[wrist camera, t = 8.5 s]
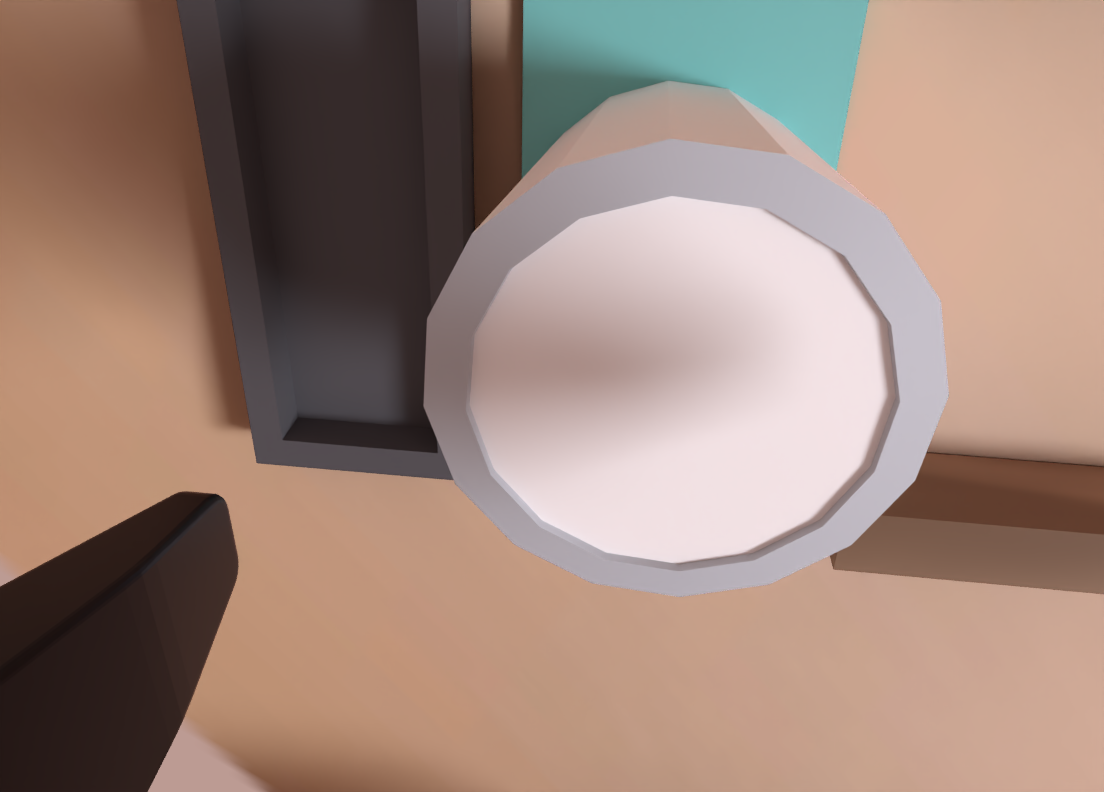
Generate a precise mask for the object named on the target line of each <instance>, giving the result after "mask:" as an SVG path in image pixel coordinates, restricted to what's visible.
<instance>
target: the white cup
mask: <svg viewBox="0 0 1104 792" xmlns="http://www.w3.org/2000/svg"><path fill="white" fill-rule="evenodd" d="M948 397H949V391H948V380H947V368H946V356H945V344H944V333H943V321H942V309H941V301H940V299H939V297H938V296H937V294H936V293H935V291H934V290H933V288H932V286H931V285H930V283H929V282H928V280H927V279H926V277H925V275H924V274H923V272H922V271H921V269H920V268H919V266H918V264H917V263H916V261H915V260H914V258H913V257H912V255H911V253H910V252H909V250H908V249H907V247H906V246H905V244H904V242H903V241H902V239H901V238H900V236H899V235H898V233H897V231H896V230H895V228H894V227H893V225H892V224H891V222H890V221H889V219H888V217H887V216H886V214H885V213H884V212H882V211H881V210H880V209H879V208H878V207H877V206H876V205H874V204H873V203H872V202H871V201H870V200H869V199H868V198H866V197H865V196H864V195H863V194H862V193H861V192H860V191H858V190H857V189H856V188H855V187H854V186H853V185H852V184H850V183H849V182H848V181H847V180H846V179H845V178H844V177H842V176H841V175H840V174H839V173H838V172H837V171H836V170H834V169H833V168H832V167H831V166H830V165H829V164H828V163H826V162H825V161H824V160H823V159H822V158H821V157H820V156H818V155H817V154H816V153H815V152H814V151H813V150H812V149H810V148H809V147H808V146H807V145H806V144H805V143H804V142H802V141H801V140H800V139H799V138H798V137H797V136H796V135H794V134H793V133H792V132H791V131H790V130H789V129H788V128H786V127H785V126H784V125H783V124H782V123H781V122H780V121H778V120H777V119H776V118H774V117H772V116H771V115H769V114H768V113H766V112H764V111H763V110H761V109H760V108H758V107H756V106H755V105H753V104H751V103H750V102H748V101H747V100H745V99H743V98H742V97H740V96H739V95H737V94H735V93H734V92H732V91H730V90H729V89H726V88H719V87H711V86H704V85H697V84H689V83H682V82H675V81H665V82H661V83H658V84H654V85H650V86H647V87H643V88H639V89H636V90H632V91H629V92H625V93H621V94H618V95H614V96H611V97H609V98H608V99H606V100H605V101H604V102H603V103H601V104H600V105H599V106H597V107H596V108H595V109H594V110H592V111H591V112H590V113H589V114H587V115H586V116H585V117H584V118H582V119H581V120H580V121H578V122H577V123H576V124H575V125H573V126H572V127H571V128H570V129H568V130H567V131H566V132H564V133H563V135H562V136H561V137H560V138H559V139H558V140H557V141H556V142H555V143H554V144H553V145H552V147H551V148H550V149H549V150H548V151H547V152H546V153H545V154H544V155H543V156H542V158H541V159H540V160H539V161H538V162H537V163H536V164H535V165H534V166H533V167H532V168H531V170H530V171H529V172H528V173H527V174H526V175H525V176H524V177H523V178H522V179H521V181H520V182H519V183H518V184H517V185H516V186H515V187H514V188H513V189H512V190H511V192H510V193H509V194H508V195H507V196H506V197H505V198H504V199H503V200H502V201H501V202H500V204H499V205H498V206H497V207H496V208H495V209H494V210H493V211H492V212H491V213H490V215H489V216H488V217H487V218H486V219H485V220H484V221H483V222H482V223H481V224H480V225H479V227H478V228H477V229H476V230H475V231H474V232H473V233H472V235H471V236H470V238H469V240H468V242H467V244H466V246H465V248H464V250H463V252H462V253H461V255H460V257H459V259H458V261H457V263H456V265H455V267H454V269H453V271H452V272H451V274H450V276H449V278H448V280H447V282H446V284H445V286H444V288H443V289H442V291H441V293H440V295H439V297H438V299H437V301H436V303H435V305H434V306H433V308H432V310H431V312H430V314H429V316H428V318H427V333H426V357H425V382H424V409H425V411H426V413H427V416H428V418H429V421H430V423H431V426H432V428H433V431H434V433H435V435H436V438H437V440H438V443H439V445H440V448H441V450H442V453H443V455H444V457H445V460H446V462H447V465H448V467H449V470H450V472H451V475H452V477H453V479H454V482H455V484H456V485H457V486H458V487H459V488H460V489H461V490H462V491H463V492H464V493H465V494H466V496H467V497H468V498H469V499H470V500H471V501H472V502H473V503H474V504H475V505H476V506H477V507H478V508H479V509H480V510H481V511H482V512H483V513H484V514H485V515H486V516H487V517H488V518H489V519H490V520H491V521H492V522H493V523H494V524H495V525H496V526H497V527H498V528H499V529H500V530H501V531H502V532H503V533H504V534H505V536H506V537H507V538H508V539H509V540H510V541H511V542H512V543H513V544H514V545H516V546H518V547H520V548H522V549H524V550H526V551H528V552H530V553H532V554H534V555H536V556H538V557H540V558H542V559H544V560H546V561H548V562H550V563H552V564H554V565H556V566H558V567H560V568H562V569H564V570H566V571H568V572H570V573H572V574H574V575H576V576H578V577H580V578H582V579H584V580H586V581H588V582H590V583H594V584H600V585H606V586H613V587H619V588H625V589H632V590H638V591H644V592H651V593H657V594H663V595H670V596H676V597H683V596H690V595H698V594H705V593H712V592H719V591H726V590H734V589H741V588H748V587H755V586H762V585H769V584H771V583H773V582H775V581H778V580H780V579H782V578H784V577H786V576H788V575H790V574H792V573H794V572H796V571H798V570H801V569H803V568H805V567H807V566H809V565H811V564H813V563H815V562H817V561H819V560H821V559H824V558H826V557H828V556H830V555H832V554H834V553H836V552H838V551H840V550H842V549H844V548H847V547H849V546H851V545H852V544H853V543H854V542H855V541H856V540H857V539H858V538H859V537H860V536H861V535H862V534H863V533H864V532H865V531H866V530H867V529H868V528H869V527H870V526H871V525H872V524H873V523H874V522H875V521H876V520H877V519H878V518H879V517H880V516H881V515H882V514H883V513H884V512H885V511H886V510H887V509H888V508H889V507H890V506H891V505H892V504H893V503H894V502H895V501H896V499H897V498H898V497H899V496H900V495H901V494H902V493H903V492H904V491H905V490H906V489H907V488H908V487H909V486H910V485H911V484H912V483H913V482H914V481H915V480H916V477H917V475H918V472H919V470H920V467H921V465H922V462H923V460H924V457H925V455H926V452H927V450H928V447H929V444H930V442H931V439H932V437H933V434H934V432H935V429H936V427H937V424H938V422H939V419H940V417H941V414H942V412H943V409H944V407H945V404H946V402H947V399H948Z"/></svg>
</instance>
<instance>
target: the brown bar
mask: <svg viewBox="0 0 1104 792" xmlns="http://www.w3.org/2000/svg"><path fill="white" fill-rule="evenodd" d="M830 558H831V562H832V566H833V569H834V570H845V571H856V572H867V573H878V574H889V575H900V576H911V577H922V578H933V579H944V580H954V581H965V582H976V583H987V584H998V585H1009V586H1020V587H1031V588H1042V589H1053V590H1064V591H1074V592H1085V593H1096V594H1104V467H1097V466H1084V465H1072V464H1059V463H1047V462H1035V461H1022V460H1010V459H997V458H985V457H973V456H960V455H948V454H935V453H926V455H925V457H924V460H923V462H922V465H921V467H920V470H919V472H918V475H917V477H916V480H915V481H914V482H913V483H912V484H911V485H910V486H909V487H908V488H907V489H906V490H905V491H904V492H903V493H902V494H901V495H900V496H899V497H898V498H897V499H896V501H895V502H894V503H893V504H892V505H891V506H890V507H889V508H888V509H887V510H886V511H885V512H884V513H883V514H882V515H881V516H880V517H879V518H878V519H877V520H876V521H875V522H874V523H873V524H872V525H871V526H870V527H869V528H868V529H867V530H866V531H865V532H864V533H863V534H862V535H861V536H860V537H859V538H858V539H857V540H856V541H855V542H854V543H853V544H852V545H851V546H849V547H847V548H844V549H842V550H840V551H838V552H836V553H834V554H832V555H830Z"/></svg>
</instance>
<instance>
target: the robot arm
mask: <svg viewBox="0 0 1104 792" xmlns="http://www.w3.org/2000/svg"><path fill="white" fill-rule="evenodd" d="M237 575H238V555H237V550H236V545H235V540H234V535H233V530H232V525H231V520H230V515H229V510H228V507H227V504H226V502H225V500H224V499H223V498H222V497H221V496H219V495H217V494H211V493H199V492H188V491H186V492H178V493H176V494H174V495H172V496H170V497H168V498H166V499H164V500H162V501H161V502H159V503H157V504H155V505H153V506H151V507H149V508H147V509H146V510H144V511H142V512H140V513H138V514H136V515H134V516H132V517H130V518H129V519H127V520H125V521H123V522H121V523H119V524H117V525H115V526H113V527H112V528H110V529H108V530H106V531H104V532H102V533H100V534H98V535H97V536H95V537H93V538H91V539H89V540H87V541H85V542H83V543H81V544H80V545H78V546H76V547H74V548H72V549H70V550H68V551H66V552H65V553H63V554H61V555H59V556H57V557H55V558H53V559H51V560H49V561H48V562H46V563H44V564H42V565H40V566H38V567H36V568H34V569H32V570H31V571H29V572H27V573H25V574H23V575H21V576H19V577H17V578H15V579H14V580H12V581H10V582H8V583H6V584H4V585H2V586H0V792H148V790H149V788H150V786H151V784H152V782H153V780H154V778H155V776H156V774H157V772H158V770H159V768H160V766H161V764H162V762H163V760H164V758H165V756H166V754H167V752H168V750H169V748H170V746H171V744H172V742H173V740H174V738H175V736H176V734H177V732H178V730H179V728H180V726H181V723H182V721H183V719H184V717H185V714H186V712H187V709H188V707H189V704H190V702H191V700H192V697H193V694H194V692H195V689H196V687H197V684H198V681H199V679H200V676H201V673H202V671H203V668H204V665H205V663H206V660H207V657H208V655H209V652H210V649H211V647H212V644H213V641H214V639H215V636H216V633H217V631H218V628H219V625H220V623H221V620H222V617H223V615H224V612H225V610H226V607H227V604H228V602H229V599H230V596H231V594H232V591H233V588H234V586H235V583H236V579H237Z"/></svg>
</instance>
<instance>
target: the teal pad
mask: <svg viewBox="0 0 1104 792" xmlns="http://www.w3.org/2000/svg"><path fill="white" fill-rule="evenodd" d="M868 2H869V0H523V98H522V178H523V177H524V176H525V175H526V174H527V173H528V172H529V171H530V170H531V168H532V167H533V166H534V165H535V164H536V163H537V162H538V161H539V160H540V159H541V158H542V156H543V155H544V154H545V153H546V152H547V151H548V150H549V149H550V148H551V147H552V145H553V144H554V143H555V142H556V141H557V140H558V139H559V138H560V137H561V136H562V135H563V133H564V132H566V131H567V130H568V129H570V128H571V127H572V126H573V125H575V124H576V123H577V122H578V121H580V120H581V119H582V118H584V117H585V116H586V115H587V114H589V113H590V112H591V111H592V110H594V109H595V108H596V107H597V106H599V105H600V104H601V103H603V102H604V101H605V100H606V99H608V98H609V97H611V96H614V95H618V94H621V93H625V92H629V91H632V90H636V89H639V88H643V87H647V86H650V85H654V84H658V83H661V82H665V81H675V82H682V83H689V84H697V85H704V86H711V87H719V88H726V89H729V90H730V91H732V92H734V93H735V94H737V95H739V96H740V97H742V98H743V99H745V100H747V101H748V102H750V103H751V104H753V105H755V106H756V107H758V108H760V109H761V110H763V111H764V112H766V113H768V114H769V115H771V116H772V117H774V118H776V119H777V120H778V121H780V122H781V123H782V124H783V125H784V126H785V127H786V128H788V129H789V130H790V131H791V132H792V133H793V134H794V135H796V136H797V137H798V138H799V139H800V140H801V141H802V142H804V143H805V144H806V145H807V146H808V147H809V148H810V149H812V150H813V151H814V152H815V153H816V154H817V155H818V156H820V157H821V158H822V159H823V160H824V161H825V162H826V163H828V164H829V165H830V166H831V167H832V168H833V169H834V170H836V169H837V164H838V159H839V153H840V148H841V143H842V138H843V133H844V127H845V122H846V117H847V112H848V106H849V101H850V96H851V91H852V85H853V80H854V75H855V70H856V65H857V59H858V54H859V49H860V44H861V38H862V33H863V28H864V23H865V17H866V12H867V7H868Z"/></svg>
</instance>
